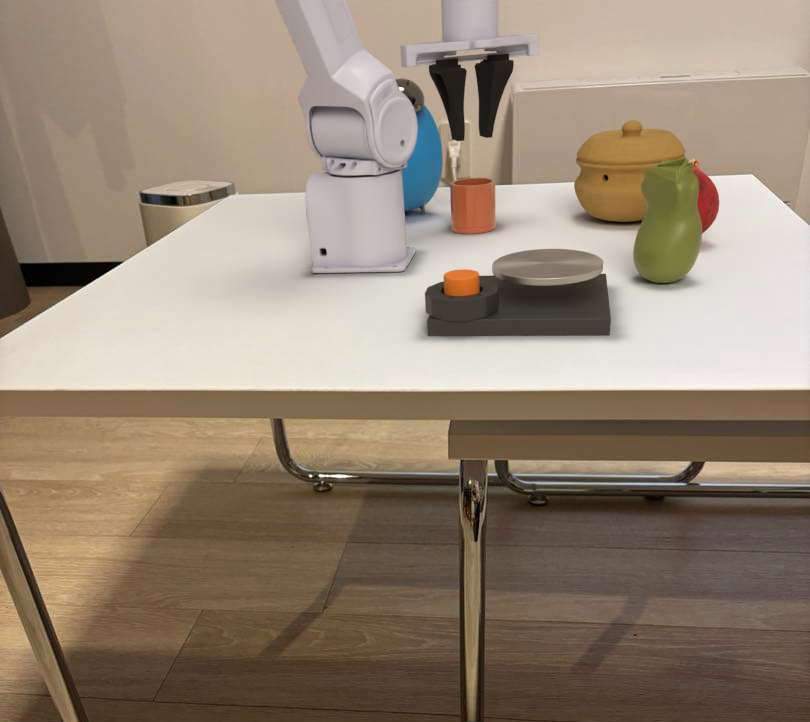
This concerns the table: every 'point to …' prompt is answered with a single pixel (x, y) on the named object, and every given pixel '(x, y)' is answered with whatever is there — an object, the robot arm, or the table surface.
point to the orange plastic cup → (473, 205)
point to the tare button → (461, 282)
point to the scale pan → (547, 267)
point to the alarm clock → (421, 153)
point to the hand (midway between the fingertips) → (472, 138)
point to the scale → (521, 309)
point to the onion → (706, 198)
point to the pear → (669, 223)
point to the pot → (621, 169)
